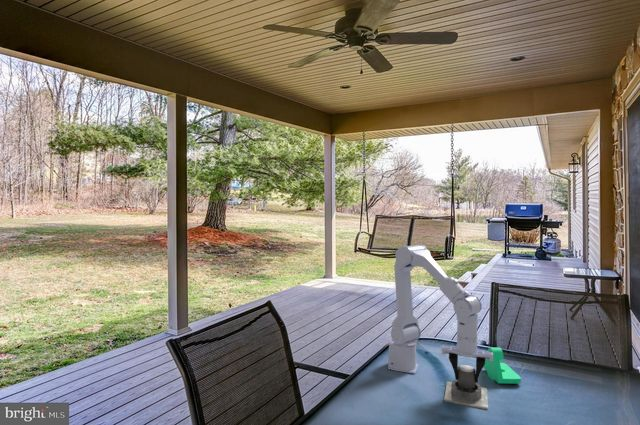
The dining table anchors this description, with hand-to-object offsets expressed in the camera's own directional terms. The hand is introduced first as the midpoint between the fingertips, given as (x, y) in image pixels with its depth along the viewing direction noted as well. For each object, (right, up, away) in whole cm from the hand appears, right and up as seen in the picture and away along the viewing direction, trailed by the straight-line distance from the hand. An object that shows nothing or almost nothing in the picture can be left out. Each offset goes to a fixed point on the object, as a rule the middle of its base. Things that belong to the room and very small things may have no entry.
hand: (466, 379), depth 118 cm
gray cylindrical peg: (0, -2, 0) cm, 2 cm away
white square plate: (0, -5, 0) cm, 5 cm away
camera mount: (+17, -5, +12) cm, 21 cm away
